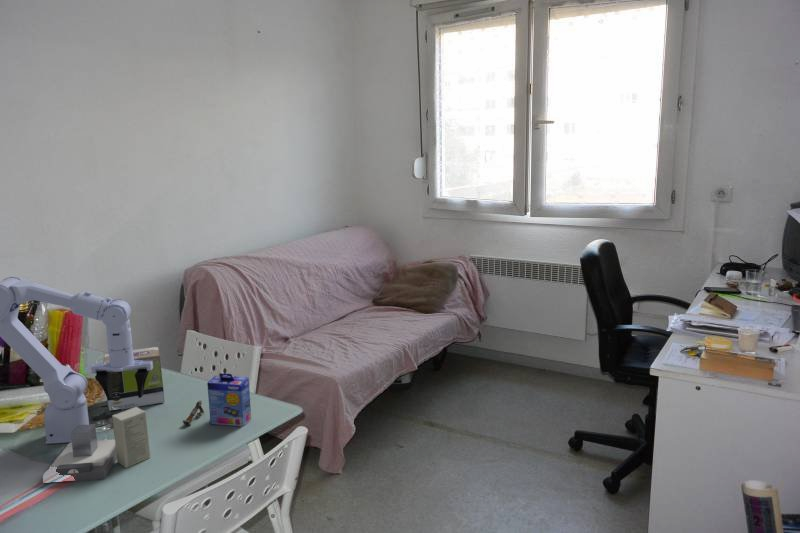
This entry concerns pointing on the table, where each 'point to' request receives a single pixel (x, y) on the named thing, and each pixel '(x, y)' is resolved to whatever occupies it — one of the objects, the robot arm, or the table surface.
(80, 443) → the block
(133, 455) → the skincare box
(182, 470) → the table surface
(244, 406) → the ink cartridge box
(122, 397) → the tea box
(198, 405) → the wooden post with brackets
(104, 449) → the dial scale
